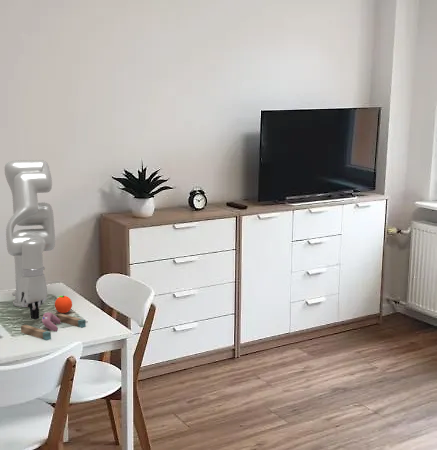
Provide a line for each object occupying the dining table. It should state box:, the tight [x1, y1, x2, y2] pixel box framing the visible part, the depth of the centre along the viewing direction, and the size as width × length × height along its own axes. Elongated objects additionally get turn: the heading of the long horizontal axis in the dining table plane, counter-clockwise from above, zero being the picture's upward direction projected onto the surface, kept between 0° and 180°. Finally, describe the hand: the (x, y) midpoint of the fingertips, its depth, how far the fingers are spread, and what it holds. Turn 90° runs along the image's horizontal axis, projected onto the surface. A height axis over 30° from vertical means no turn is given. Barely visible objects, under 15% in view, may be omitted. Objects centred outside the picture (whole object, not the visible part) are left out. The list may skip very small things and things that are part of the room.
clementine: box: [53, 295, 73, 314], centre depth 276 cm, size 8×7×7 cm
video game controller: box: [41, 311, 62, 332], centre depth 258 cm, size 10×5×7 cm, turn 6°
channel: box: [20, 312, 87, 341], centre depth 257 cm, size 14×19×2 cm
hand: (34, 318), depth 262 cm, fingers closed
